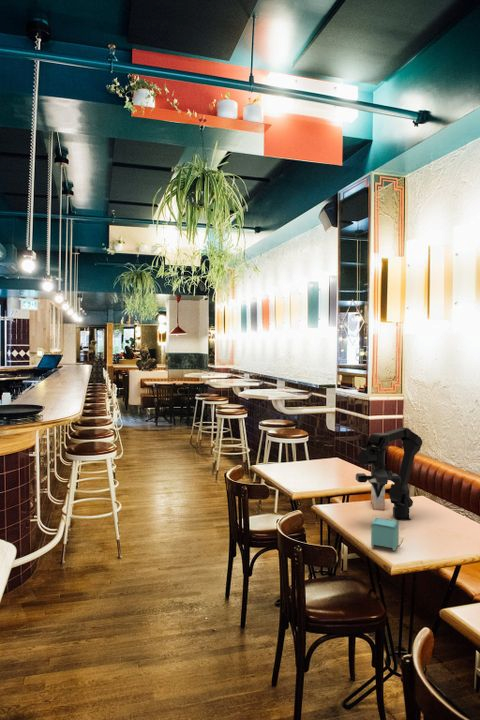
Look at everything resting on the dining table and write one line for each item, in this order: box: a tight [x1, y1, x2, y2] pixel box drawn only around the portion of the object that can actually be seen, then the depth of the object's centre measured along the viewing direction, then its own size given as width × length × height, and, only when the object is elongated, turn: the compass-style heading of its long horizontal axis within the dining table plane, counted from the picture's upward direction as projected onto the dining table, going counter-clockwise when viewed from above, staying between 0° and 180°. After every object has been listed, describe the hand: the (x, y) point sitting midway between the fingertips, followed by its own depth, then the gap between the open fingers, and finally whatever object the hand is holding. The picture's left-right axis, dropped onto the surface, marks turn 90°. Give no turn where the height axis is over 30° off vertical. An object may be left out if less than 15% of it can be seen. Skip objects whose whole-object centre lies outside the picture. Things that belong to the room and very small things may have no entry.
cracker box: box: [370, 483, 386, 511], centre depth 246 cm, size 14×6×21 cm, turn 168°
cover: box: [370, 517, 400, 551], centre depth 193 cm, size 8×9×9 cm
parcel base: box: [396, 536, 404, 548], centre depth 200 cm, size 10×10×1 cm
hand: (377, 497), depth 218 cm, fingers closed
